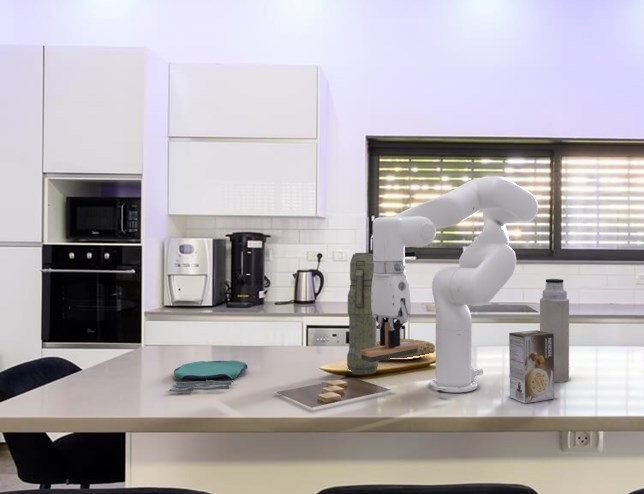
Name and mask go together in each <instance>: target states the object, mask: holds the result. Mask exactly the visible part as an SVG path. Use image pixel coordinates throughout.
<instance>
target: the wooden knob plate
mask: <svg viewBox="0 0 644 494" xmlns="http://www.w3.org/2000/svg"><path fill="white" fill-rule="evenodd" d="M394 323H395V321H394ZM388 331H390V322H385V346H380V347H375V348H369V349H364V350H360V354H361V359H362V360H365V361H369V362H375V361H378V362H380V361H386V360H385V359H390V358H395V357H400V356H405V355H410V354H415V353H418V348H419V344H416V343H411V342H402V343H400V346H398V347H393V348H389V347H388Z"/></svg>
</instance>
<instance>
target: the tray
mask: <svg viewBox="0 0 644 494" xmlns="http://www.w3.org/2000/svg"><path fill="white" fill-rule="evenodd" d="M341 380H342V381H345V382H347V383H348V386H346V387H341V388H344V393H340V394H339V395H341V400H336V401H331V402H327V403H326V402H324V401H321V400H319V399H317V395H319V394H324V393H323V392H322V388H325V387H328V386H326V382H321V383H315V384H312V385H311V384H310V385H305V386H302V387H301V386H300V387H294V388H290V389H285V390H280V391H276V393H277V394H280V395H282V396H284V397H285V398H289V399H291V400H293V401H295V402H298V403H300V404H302V405H305V406H307V407H309V408H312V409H313V408H317V407H322V406H326V405H330V404H334V403H339V402H344V401H348V400H352V399H358V398H362V397H367V396H370V395H376V394H380V393H385V392H388V391H391V389H390V388H387V387H384V386H382V385H381V386H380V385H378V384H375V383H371V382H368V381H365V380H362V379H359V378H356V377H353V376H352V377H348V378H343V379H342V378H341Z"/></svg>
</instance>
